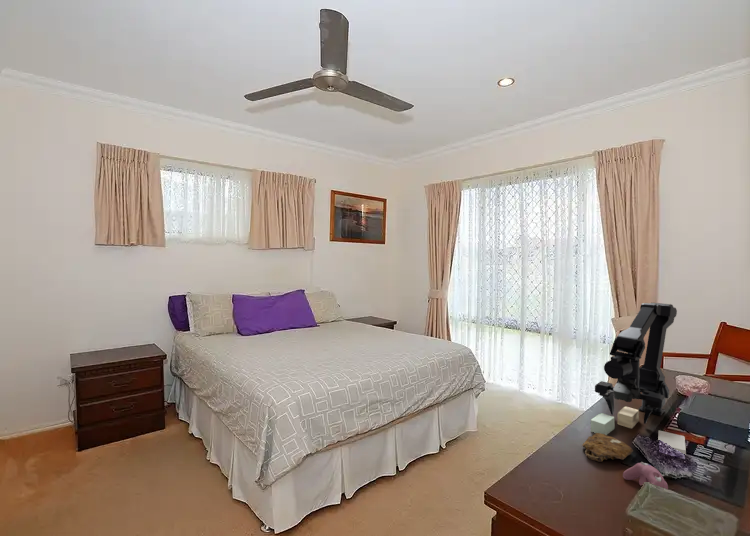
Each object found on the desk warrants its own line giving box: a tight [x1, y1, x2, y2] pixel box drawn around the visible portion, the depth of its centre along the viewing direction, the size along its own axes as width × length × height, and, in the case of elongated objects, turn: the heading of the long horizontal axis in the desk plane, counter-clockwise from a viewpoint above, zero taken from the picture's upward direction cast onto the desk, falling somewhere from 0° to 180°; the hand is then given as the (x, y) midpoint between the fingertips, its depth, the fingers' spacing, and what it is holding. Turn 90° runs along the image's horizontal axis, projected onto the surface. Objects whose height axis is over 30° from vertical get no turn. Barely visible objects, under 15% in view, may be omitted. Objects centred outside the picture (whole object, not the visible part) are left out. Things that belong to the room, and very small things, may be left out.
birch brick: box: [616, 406, 640, 429], centre depth 121 cm, size 8×4×4 cm, turn 131°
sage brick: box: [590, 412, 616, 436], centre depth 116 cm, size 8×4×4 cm, turn 127°
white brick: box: [657, 430, 687, 455], centre depth 104 cm, size 10×6×3 cm, turn 141°
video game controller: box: [622, 461, 669, 490], centre depth 86 cm, size 10×5×7 cm, turn 169°
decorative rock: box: [581, 433, 634, 463], centre depth 102 cm, size 11×4×15 cm
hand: (628, 418), depth 121 cm, fingers open, 9 cm apart
